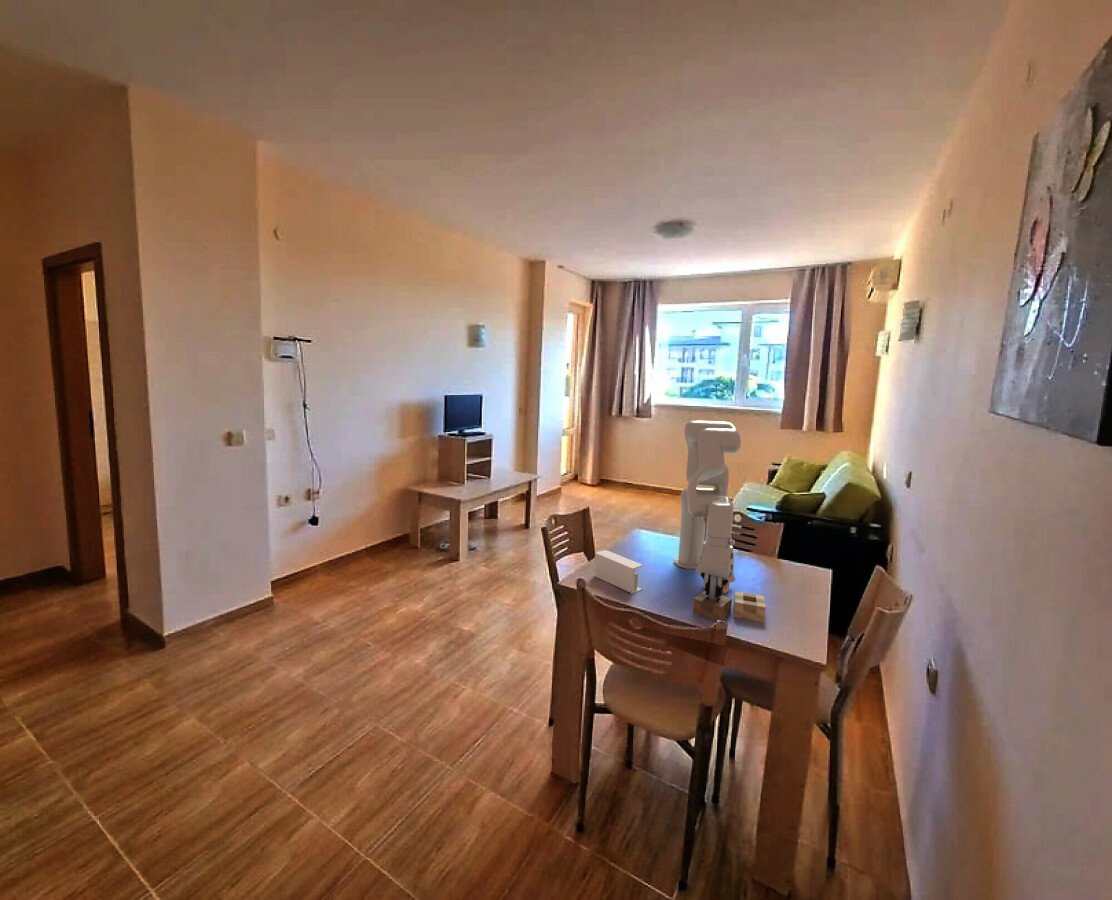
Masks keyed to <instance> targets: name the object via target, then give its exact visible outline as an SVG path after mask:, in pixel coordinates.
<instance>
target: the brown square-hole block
mask: <svg viewBox="0 0 1112 900" xmlns="http://www.w3.org/2000/svg"><path fill="white" fill-rule="evenodd" d="M732 602H733V598H732V597H729V596H726V595H723V594H722V596H720V597H719V598H718V599H717V602H714V601H711V600H709V595H706V591H705V590H704V591H702V592H701V593H699V594H698V595H697V596H696V597H694V598H693V606H692V607H693V608H692V614H693V615H696V616H699V617H703V618H705V619H708V620H711V621H714V622H716V621H717V620H722V621H724V620H725V619H726V618H727V617H728V616H729V615H730V614H731V613H732Z"/></svg>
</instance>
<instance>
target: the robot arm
mask: <svg viewBox="0 0 1112 900" xmlns="http://www.w3.org/2000/svg"><path fill="white" fill-rule="evenodd" d="M684 438H685V442H686V445H687V451H688V452H687V459H686V460H687V462H686V473H685V474H686V475H685V477H686V481H687V483H688V485H687V487H686V488H684V489H682V491H681V493H680V497H679V498H680V499H679V500H680V511H681V512H680V513H681V514H680V515H681V517H680V528H679V530H680V531H679V532H680V533H679V543H678V546H679V547H678V555H677V557H675V558H674V559H673V563H674V564H675V565H676V566H677V567H679V568H682V569H686V570H691V571H694V570H695V572H696V573H697V574H698V575H700V577H701V578H702V580H703V583H704V582H705V588H704V591H706V595H709V588H710V576H711V575H713V576H716V577H718V586H716V594H715V598H717V599H718V598H719V597H720V596H722V595H723V594H724V593H723V585H725V584H726V583H729V584H731V583H734V582H735V581H736V577H735V574H734V570H735V569H734V568H735V553H734V547H733V546H734V545H735V544H736V541H735V540H734V539H732V537H733V536H732V529H733V528H732V527H733V517H734V516H733V515H734V503H733V501H732V500H731V498H730V497H728V489H729V481H730V473H729V468H728V466H727V464H726V463H725V453H727V454H728V453H729V454H735V453H737V452H739V450H740V448H741V441H742V440H741V436H740V432H739V431H738V429H737V428H736V426H735V425H734V424H733V423H732V422H728V421H715V420H690V421H688V422H686V424H685V426H684ZM697 486H702V487H697ZM703 486H704V487H703ZM705 486H706V487H707V488H706V487H705ZM708 487H709V488H708ZM710 487H714V488H710ZM705 519H706V521H705ZM728 577H729V578H728Z"/></svg>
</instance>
